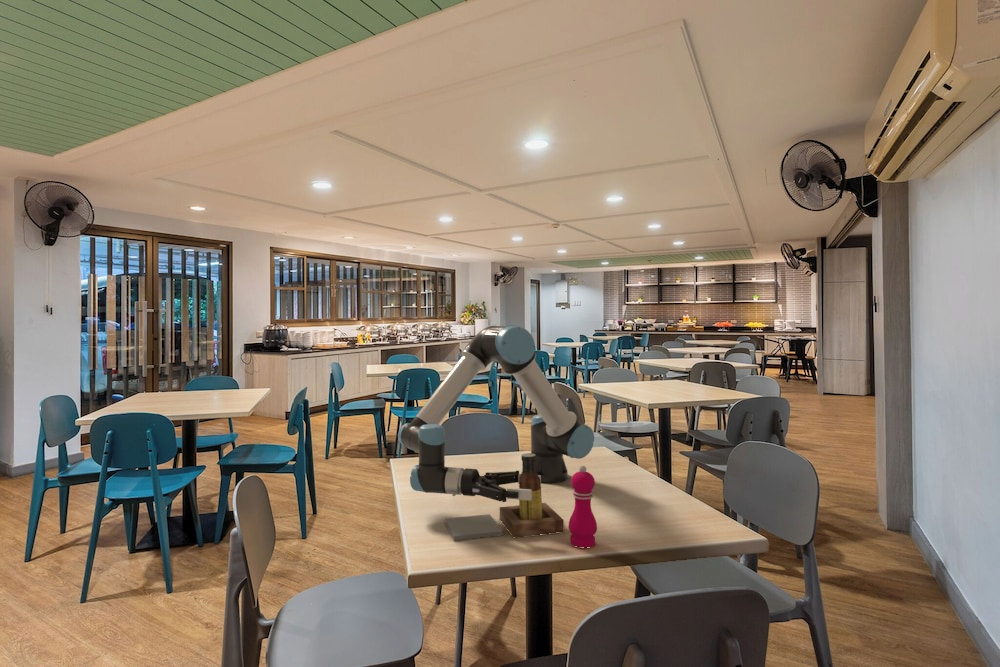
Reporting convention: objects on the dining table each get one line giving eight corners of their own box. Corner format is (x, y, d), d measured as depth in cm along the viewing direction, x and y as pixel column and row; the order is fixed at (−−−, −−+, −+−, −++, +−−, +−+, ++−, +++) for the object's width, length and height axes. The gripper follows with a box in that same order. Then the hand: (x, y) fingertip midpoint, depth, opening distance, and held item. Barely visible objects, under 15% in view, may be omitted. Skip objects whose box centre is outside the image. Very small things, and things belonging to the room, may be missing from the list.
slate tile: (489, 518, 152) (489, 514, 152) (501, 535, 139) (501, 531, 139) (445, 522, 148) (445, 518, 148) (453, 540, 136) (453, 536, 136)
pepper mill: (596, 550, 130) (597, 470, 130) (567, 548, 131) (567, 468, 131) (597, 539, 137) (597, 462, 137) (569, 537, 138) (569, 461, 138)
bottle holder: (545, 514, 155) (545, 502, 155) (563, 532, 141) (563, 519, 141) (499, 519, 151) (499, 507, 151) (513, 538, 138) (513, 524, 138)
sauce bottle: (544, 523, 148) (544, 453, 148) (538, 531, 142) (539, 458, 142) (522, 520, 150) (522, 451, 150) (515, 528, 144) (515, 456, 144)
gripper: (476, 482, 163) (544, 487, 158) (448, 509, 139) (526, 516, 133) (476, 458, 163) (544, 462, 157) (448, 481, 139) (526, 487, 133)
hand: (536, 487), depth 145 cm, fingers open, 13 cm apart
